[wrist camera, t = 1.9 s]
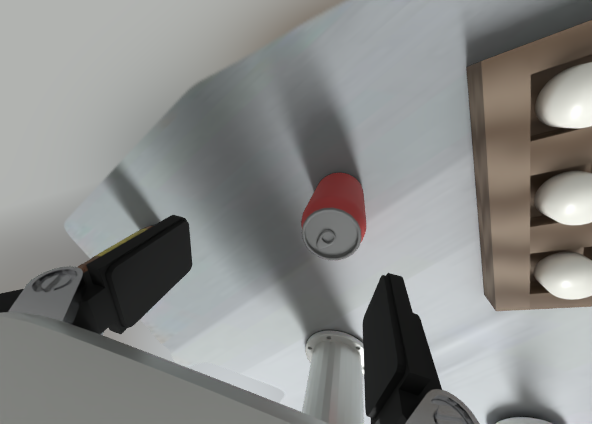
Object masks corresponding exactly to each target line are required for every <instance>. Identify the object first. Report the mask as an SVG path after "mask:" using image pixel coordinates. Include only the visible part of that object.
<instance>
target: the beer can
mask: <svg viewBox="0 0 592 424" xmlns="http://www.w3.org/2000/svg"><path fill="white" fill-rule="evenodd" d="M301 225H302V237H303V241H304V243H305V245H306V247H307V248H308V249H309V250H310V251H311V252H312V253H313V254H315V255H317V256H318V257H320V258H323V259H327V260H340V259H344V258H347V257H349V256H350V255H352V254H354V252H355V251H356V250H357V249H358V248H359V245H360V243H361V241H362V240H363V237H364V234H365V231H366V215H365V204H364V194H363V189H362V187H361V184H360V183H359V182H358V181H357V179H356V178H354V177H353V176H351V175H349V174H346V173H332V174H330V175H328V176H326V177H324V178H323V179H322V180H321V181H320V183H319V184H318V186H317V188H316V190H315V191H314V193H313V195H312V197H311V199H310V201H309V203H308V205H307V207H306V208H305V210H304V212H303V216H302V221H301Z"/></svg>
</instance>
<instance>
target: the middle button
mask: <svg viewBox="0 0 592 424" xmlns="http://www.w3.org/2000/svg"><path fill="white" fill-rule="evenodd" d="M534 203H535V206H536V208H537V210H538V211H539V212H541V213H542V214H544V215H546V216H548V217H550V218H552V219H553V220H555V221H557V222H559V223H562V224H566V225H583V224H588V223H591V222H592V173H588V172H584V171H568V172H563V173H560V174H558V175H555V176H553V177H551V178H550V179H548V180H547V181H546V182H544V183H543V184H542V185H541V186H540V187H539V189H538V190H537V192H536V194H535V198H534Z"/></svg>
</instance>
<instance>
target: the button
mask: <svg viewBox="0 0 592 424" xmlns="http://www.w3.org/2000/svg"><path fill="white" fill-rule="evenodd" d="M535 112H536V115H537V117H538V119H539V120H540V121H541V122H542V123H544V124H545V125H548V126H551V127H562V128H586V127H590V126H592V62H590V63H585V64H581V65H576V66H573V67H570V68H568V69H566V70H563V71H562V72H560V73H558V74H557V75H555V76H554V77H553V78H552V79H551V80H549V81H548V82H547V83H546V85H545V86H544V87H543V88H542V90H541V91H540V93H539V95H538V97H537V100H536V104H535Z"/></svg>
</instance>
